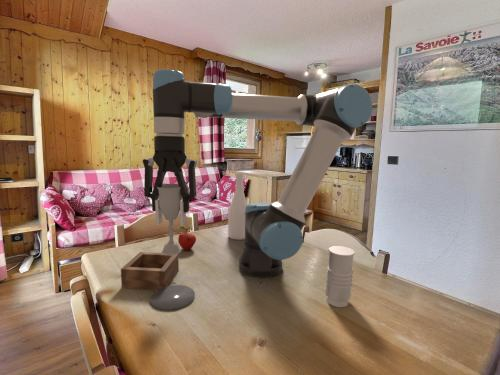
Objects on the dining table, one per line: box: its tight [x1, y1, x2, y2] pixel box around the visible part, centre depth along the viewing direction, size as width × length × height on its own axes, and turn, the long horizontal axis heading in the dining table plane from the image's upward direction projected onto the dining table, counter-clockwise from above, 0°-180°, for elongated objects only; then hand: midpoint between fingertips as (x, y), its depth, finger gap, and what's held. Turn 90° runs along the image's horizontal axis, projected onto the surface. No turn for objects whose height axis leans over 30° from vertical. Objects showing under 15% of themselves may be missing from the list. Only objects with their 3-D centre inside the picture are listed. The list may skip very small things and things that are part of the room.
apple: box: [176, 226, 197, 251], centre depth 114 cm, size 8×7×10 cm
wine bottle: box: [227, 171, 248, 241], centre depth 129 cm, size 10×10×30 cm
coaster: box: [149, 284, 196, 311], centre depth 80 cm, size 12×12×1 cm
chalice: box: [157, 183, 183, 255], centre depth 76 cm, size 7×7×18 cm
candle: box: [325, 245, 355, 308], centre depth 79 cm, size 7×7×15 cm
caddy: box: [120, 251, 179, 291], centre depth 90 cm, size 13×13×6 cm
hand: (171, 223), depth 76 cm, fingers closed on chalice, 6 cm apart
